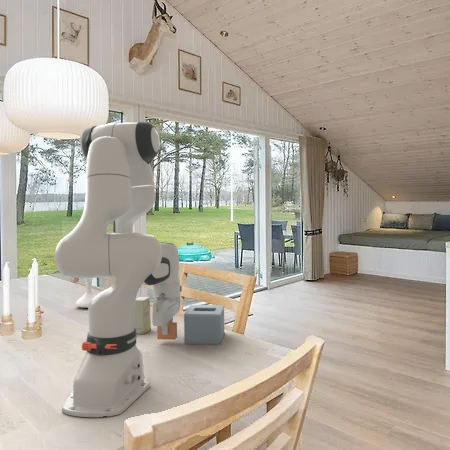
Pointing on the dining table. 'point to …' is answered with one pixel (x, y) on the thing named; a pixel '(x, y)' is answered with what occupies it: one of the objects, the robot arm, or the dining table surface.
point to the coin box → (204, 324)
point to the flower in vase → (86, 295)
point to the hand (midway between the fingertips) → (167, 332)
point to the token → (172, 331)
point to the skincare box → (142, 315)
